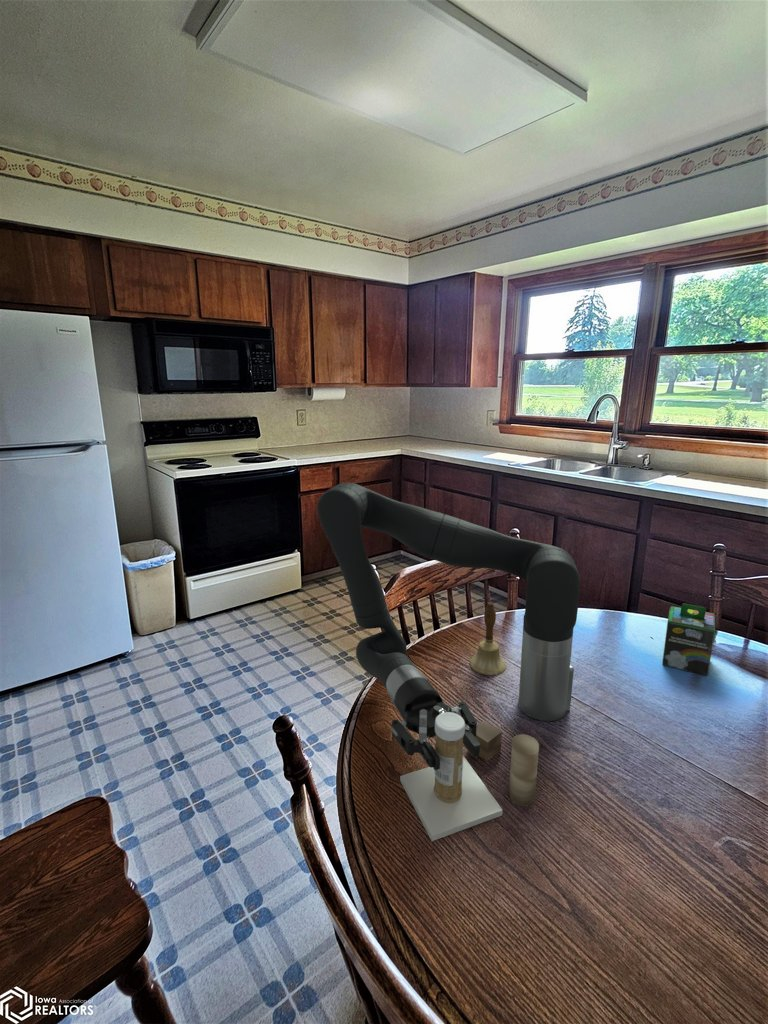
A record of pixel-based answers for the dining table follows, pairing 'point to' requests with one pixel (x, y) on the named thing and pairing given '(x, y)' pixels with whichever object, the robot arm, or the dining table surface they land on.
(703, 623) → the chalk box
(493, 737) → the walnut block
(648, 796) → the dining table surface
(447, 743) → the sprinkles bottle
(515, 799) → the beech dowel
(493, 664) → the hand bell
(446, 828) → the ceramic tile
